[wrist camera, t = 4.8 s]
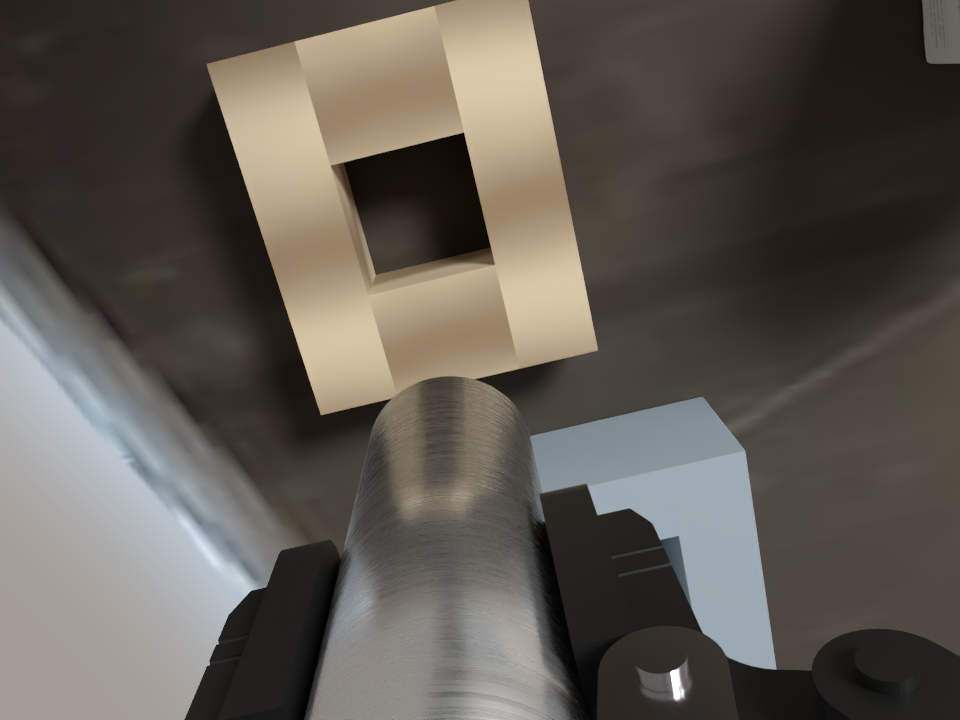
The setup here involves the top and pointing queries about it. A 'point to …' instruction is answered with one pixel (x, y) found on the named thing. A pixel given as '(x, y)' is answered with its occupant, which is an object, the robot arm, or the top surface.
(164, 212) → the top surface
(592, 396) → the top surface
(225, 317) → the top surface
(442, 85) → the mount
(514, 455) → the pin
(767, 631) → the socket
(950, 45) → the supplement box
